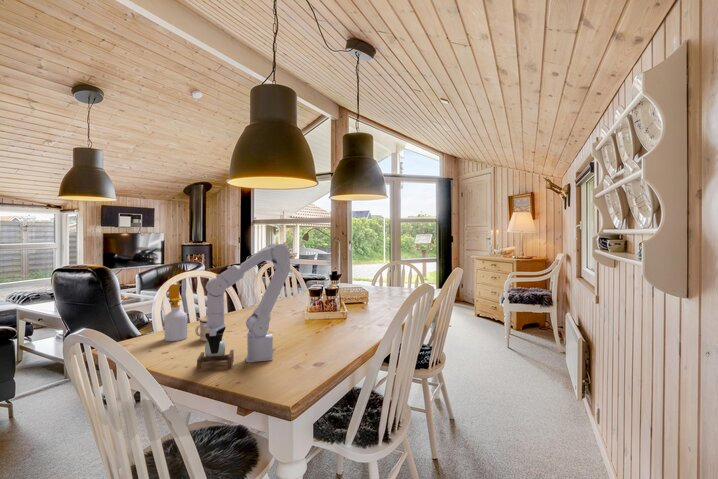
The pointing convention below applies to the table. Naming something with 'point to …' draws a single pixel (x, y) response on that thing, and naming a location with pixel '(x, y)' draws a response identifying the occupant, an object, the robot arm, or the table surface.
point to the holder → (215, 362)
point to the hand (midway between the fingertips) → (215, 350)
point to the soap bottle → (175, 318)
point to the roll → (220, 352)
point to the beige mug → (202, 329)
